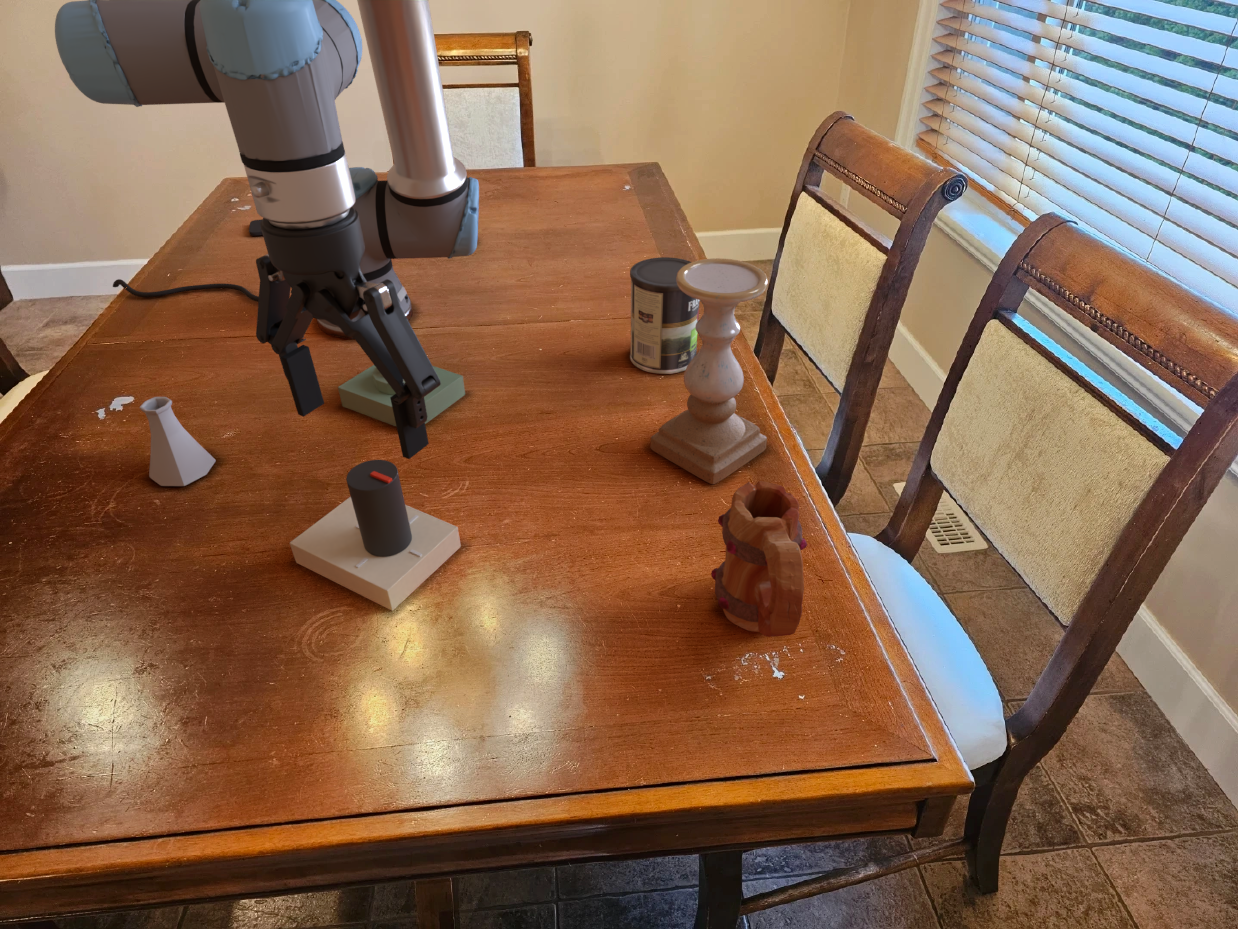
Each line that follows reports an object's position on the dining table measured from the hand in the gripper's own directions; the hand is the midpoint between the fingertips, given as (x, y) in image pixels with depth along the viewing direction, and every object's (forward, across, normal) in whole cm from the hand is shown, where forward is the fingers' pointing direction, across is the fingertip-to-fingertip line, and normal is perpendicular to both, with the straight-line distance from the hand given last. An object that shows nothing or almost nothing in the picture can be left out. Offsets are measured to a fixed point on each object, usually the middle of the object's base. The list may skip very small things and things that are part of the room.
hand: (362, 429), depth 76 cm
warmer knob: (+14, 0, 0) cm, 14 cm away
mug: (+17, +38, +11) cm, 43 cm away
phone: (+19, -87, +63) cm, 109 cm away
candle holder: (+18, +21, +36) cm, 45 cm away
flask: (+18, -34, -1) cm, 38 cm away
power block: (+18, -21, +25) cm, 37 cm away
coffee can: (+18, +5, +54) cm, 57 cm away
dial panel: (+17, -2, 0) cm, 17 cm away
